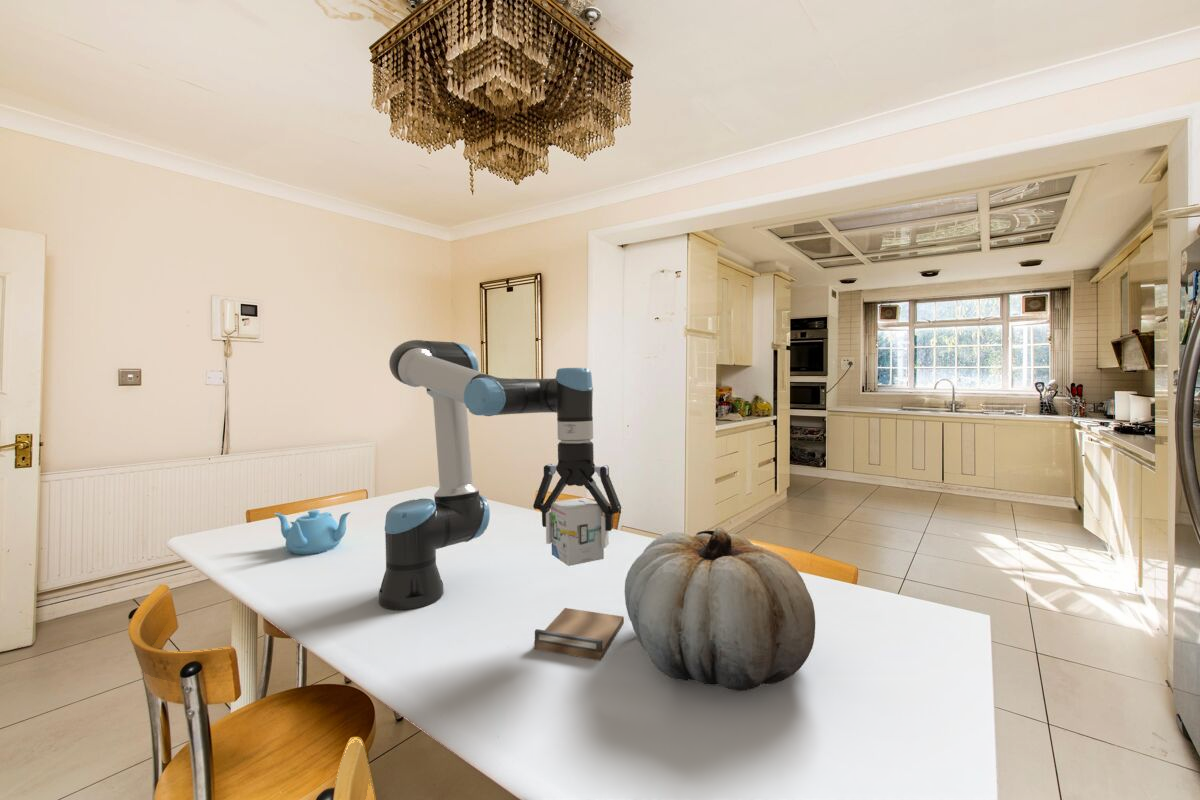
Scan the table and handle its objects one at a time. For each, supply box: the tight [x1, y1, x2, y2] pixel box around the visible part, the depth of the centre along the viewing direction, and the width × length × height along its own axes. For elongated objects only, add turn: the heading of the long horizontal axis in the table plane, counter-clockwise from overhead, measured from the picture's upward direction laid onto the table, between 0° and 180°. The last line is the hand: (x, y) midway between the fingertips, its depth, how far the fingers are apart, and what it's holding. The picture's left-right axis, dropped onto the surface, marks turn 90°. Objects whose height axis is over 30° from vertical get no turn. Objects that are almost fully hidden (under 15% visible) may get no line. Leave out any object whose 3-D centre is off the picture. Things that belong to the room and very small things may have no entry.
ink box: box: [550, 496, 605, 567], centre depth 107 cm, size 8×8×12 cm
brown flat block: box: [533, 607, 625, 661], centre depth 106 cm, size 14×16×4 cm
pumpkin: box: [624, 527, 816, 692], centre depth 98 cm, size 37×36×25 cm
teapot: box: [273, 509, 351, 555], centre depth 164 cm, size 17×19×12 cm
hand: (577, 544), depth 107 cm, fingers closed on ink box, 11 cm apart
